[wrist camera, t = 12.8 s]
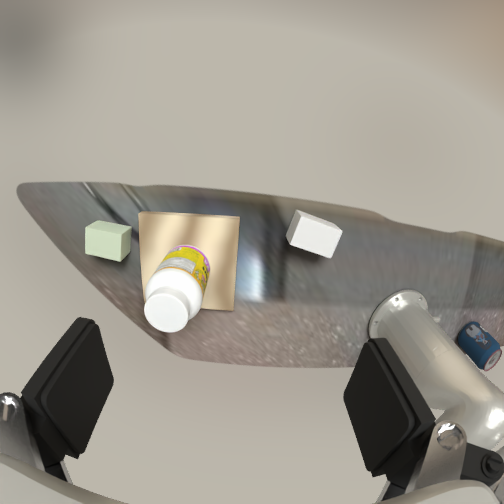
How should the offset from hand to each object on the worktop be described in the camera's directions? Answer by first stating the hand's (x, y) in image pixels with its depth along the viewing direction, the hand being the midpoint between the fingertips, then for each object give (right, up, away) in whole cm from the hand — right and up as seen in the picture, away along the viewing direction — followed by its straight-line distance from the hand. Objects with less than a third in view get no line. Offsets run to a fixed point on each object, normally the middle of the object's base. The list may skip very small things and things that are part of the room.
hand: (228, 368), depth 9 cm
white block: (+9, +7, +30) cm, 32 cm away
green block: (-20, +6, +30) cm, 36 cm away
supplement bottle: (-8, +2, +30) cm, 31 cm away
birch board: (-8, +3, +31) cm, 32 cm away
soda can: (+51, -15, +39) cm, 66 cm away
